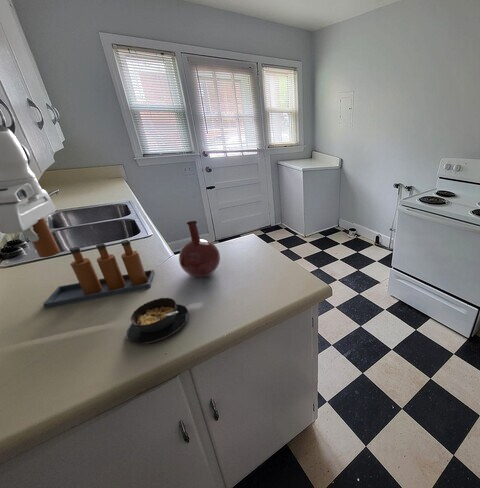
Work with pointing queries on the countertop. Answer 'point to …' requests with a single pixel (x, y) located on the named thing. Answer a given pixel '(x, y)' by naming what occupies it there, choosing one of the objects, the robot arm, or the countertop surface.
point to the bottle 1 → (85, 273)
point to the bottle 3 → (133, 264)
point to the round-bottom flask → (198, 254)
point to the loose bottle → (44, 240)
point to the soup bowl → (156, 320)
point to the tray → (76, 294)
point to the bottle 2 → (109, 268)
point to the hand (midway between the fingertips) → (41, 236)
